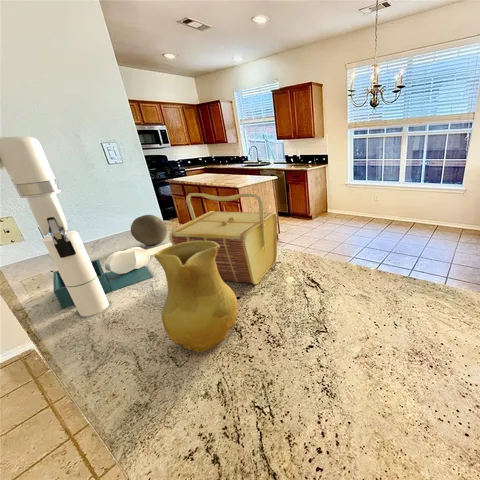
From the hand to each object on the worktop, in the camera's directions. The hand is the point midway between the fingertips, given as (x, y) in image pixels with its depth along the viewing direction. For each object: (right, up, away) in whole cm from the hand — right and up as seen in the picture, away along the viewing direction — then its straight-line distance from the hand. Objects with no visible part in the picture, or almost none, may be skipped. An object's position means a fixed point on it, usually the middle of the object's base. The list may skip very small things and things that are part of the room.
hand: (67, 251), depth 74 cm
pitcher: (+42, -22, -4) cm, 47 cm away
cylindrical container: (+1, -19, +8) cm, 20 cm away
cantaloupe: (-11, +1, +55) cm, 56 cm away
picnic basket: (+39, -9, +27) cm, 48 cm away
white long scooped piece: (+2, -5, +40) cm, 40 cm away
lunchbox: (-7, -13, +23) cm, 27 cm away
